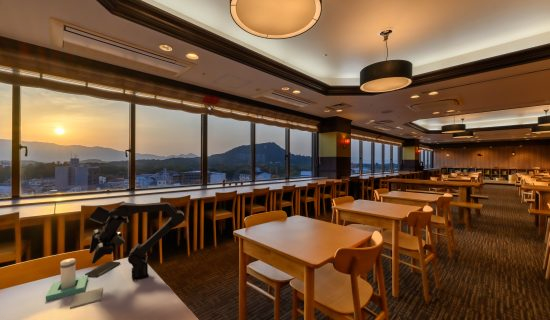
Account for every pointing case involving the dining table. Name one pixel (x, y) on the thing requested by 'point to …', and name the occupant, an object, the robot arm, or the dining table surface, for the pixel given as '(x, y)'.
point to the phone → (102, 269)
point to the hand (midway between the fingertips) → (91, 258)
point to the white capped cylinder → (68, 273)
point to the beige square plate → (86, 297)
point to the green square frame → (57, 293)
